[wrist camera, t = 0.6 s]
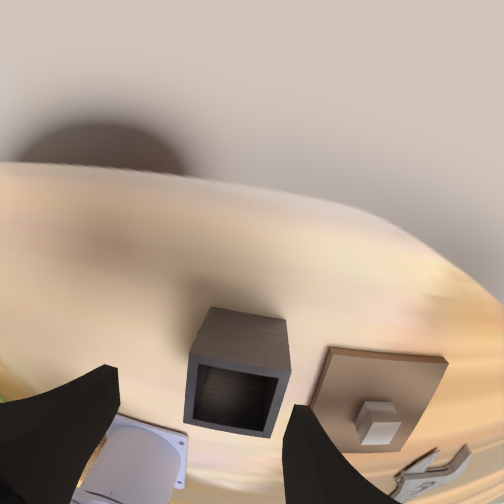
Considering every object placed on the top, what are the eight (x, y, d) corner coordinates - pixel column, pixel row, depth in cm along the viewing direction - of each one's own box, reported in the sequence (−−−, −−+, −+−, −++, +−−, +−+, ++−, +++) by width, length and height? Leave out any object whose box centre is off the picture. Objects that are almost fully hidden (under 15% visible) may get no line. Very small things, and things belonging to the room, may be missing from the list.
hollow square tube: (270, 380, 21) (270, 438, 15) (202, 368, 21) (183, 422, 15) (285, 320, 20) (291, 371, 14) (210, 306, 20) (189, 352, 14)
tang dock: (396, 444, 22) (406, 470, 19) (295, 442, 23) (297, 472, 19) (443, 357, 20) (463, 380, 17) (330, 347, 20) (340, 375, 17)
